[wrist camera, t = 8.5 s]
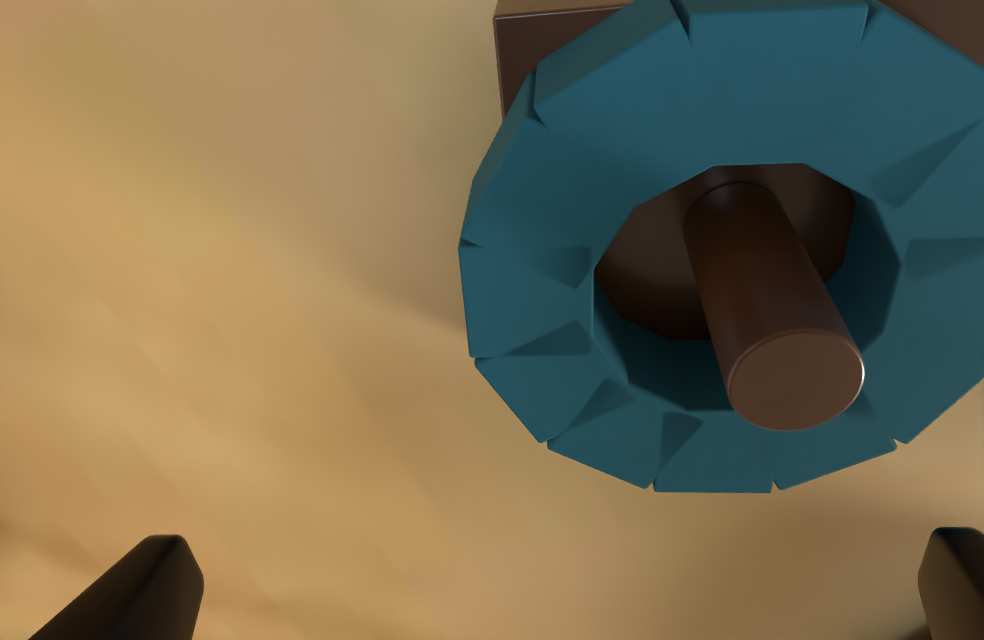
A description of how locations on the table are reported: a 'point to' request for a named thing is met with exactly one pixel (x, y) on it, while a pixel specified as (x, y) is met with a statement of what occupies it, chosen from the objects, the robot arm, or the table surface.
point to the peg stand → (734, 240)
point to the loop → (689, 151)
